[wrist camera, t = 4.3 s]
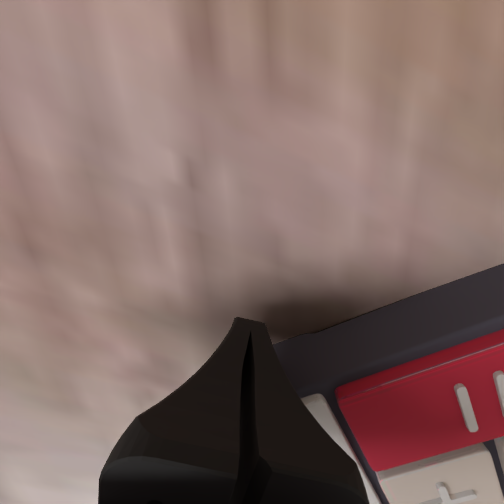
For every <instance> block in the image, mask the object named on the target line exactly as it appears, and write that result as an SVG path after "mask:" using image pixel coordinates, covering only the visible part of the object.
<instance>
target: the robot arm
mask: <svg viewBox="0 0 504 504" xmlns="http://www.w3.org/2000/svg"><path fill="white" fill-rule="evenodd" d="M98 504H370V503H369V499H368V496H367V492H366V488H365V485H364V482H363V479H362V477H361V474H360V471H359V469H358V466H357V463H356V462H355V461H354V460H353V459H352V458H351V457H350V456H349V455H348V454H347V453H346V452H345V451H344V450H343V449H342V448H341V447H340V446H339V445H338V444H337V443H336V442H335V441H334V440H333V439H332V438H331V437H330V435H329V434H328V433H327V432H326V431H325V430H324V429H323V428H322V426H321V425H320V424H319V423H318V422H317V420H316V419H315V418H314V416H313V415H312V414H311V412H310V411H309V410H308V409H307V407H306V406H305V405H304V403H303V402H302V400H301V399H300V397H299V396H298V394H297V393H296V391H295V389H294V388H293V386H292V384H291V383H290V381H289V379H288V377H287V375H286V373H285V371H284V370H283V368H282V365H281V363H280V361H279V359H278V357H277V354H276V352H275V350H274V347H273V345H272V342H271V339H270V337H269V334H268V330H267V327H266V325H265V323H262V322H257V321H253V320H249V319H244V318H240V317H236V318H234V322H233V324H232V327H231V329H230V330H229V332H228V334H227V336H226V337H225V338H224V340H223V341H222V343H221V344H220V346H219V347H218V348H217V350H216V351H215V352H214V353H213V355H212V356H211V357H210V358H209V359H208V360H207V362H206V363H205V364H204V365H203V366H202V367H201V368H200V369H199V370H198V371H197V372H196V373H195V374H194V375H193V376H192V377H191V378H189V379H188V380H187V381H186V382H185V383H184V384H183V385H182V386H180V387H179V388H178V389H176V390H175V391H174V392H173V393H171V394H170V395H169V396H167V397H166V398H165V399H163V400H162V401H160V402H159V403H158V404H156V405H154V406H153V407H151V408H150V409H148V410H146V411H145V412H143V413H142V414H140V415H138V416H137V417H136V418H135V419H134V420H133V422H132V423H131V424H130V425H129V427H128V428H127V429H126V431H125V432H124V433H123V435H122V436H121V437H120V439H119V440H118V442H117V443H116V445H115V447H114V448H113V450H112V452H111V454H110V455H109V457H108V459H107V461H106V463H105V465H104V467H103V469H102V471H101V475H100V478H99V497H98Z"/></svg>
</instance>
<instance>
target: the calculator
mask: <svg viewBox="0 0 504 504" xmlns="http://www.w3.org/2000/svg"><path fill="white" fill-rule="evenodd" d="M273 347H274V350H275V352H276V354H277V357H278V359H279V361H280V363H281V365H282V368H283V370H284V371H285V373H286V375H287V377H288V379H289V381H290V383H291V384H292V386H293V388H294V389H295V391H296V393H297V394H298V396H299V397H300V399H301V400H302V402H303V403H304V405H305V406H306V407H307V409H308V410H309V411H310V412H311V414H312V415H313V416H314V418H315V419H316V420H317V422H318V423H319V424H320V425H321V426H322V428H323V429H324V430H325V431H326V432H327V433H328V434H329V435H330V437H331V438H332V439H333V440H334V441H335V442H336V443H337V444H338V445H339V446H340V447H341V448H342V449H343V450H344V451H345V452H346V453H347V454H348V455H349V456H350V457H351V458H352V459H353V460H354V461H355V462H356V463H357V466H358V469H359V471H360V474H361V477H362V479H363V482H364V485H365V488H366V492H367V496H368V499H369V503H370V504H504V264H501V265H498V266H495V267H492V268H490V269H487V270H484V271H481V272H478V273H475V274H473V275H470V276H467V277H464V278H461V279H458V280H456V281H453V282H450V283H447V284H444V285H442V286H439V287H436V288H433V289H430V290H427V291H425V292H422V293H419V294H417V295H414V296H411V297H409V298H406V299H403V300H401V301H398V302H396V303H393V304H390V305H388V306H385V307H383V308H380V309H377V310H375V311H372V312H370V313H367V314H364V315H362V316H359V317H357V318H354V319H352V320H349V321H346V322H344V323H341V324H339V325H336V326H333V327H331V328H328V329H326V330H323V331H320V332H318V333H314V334H309V333H306V334H302V335H299V336H296V337H293V338H291V339H288V340H285V341H282V342H279V343H276V344H274V345H273Z"/></svg>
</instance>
